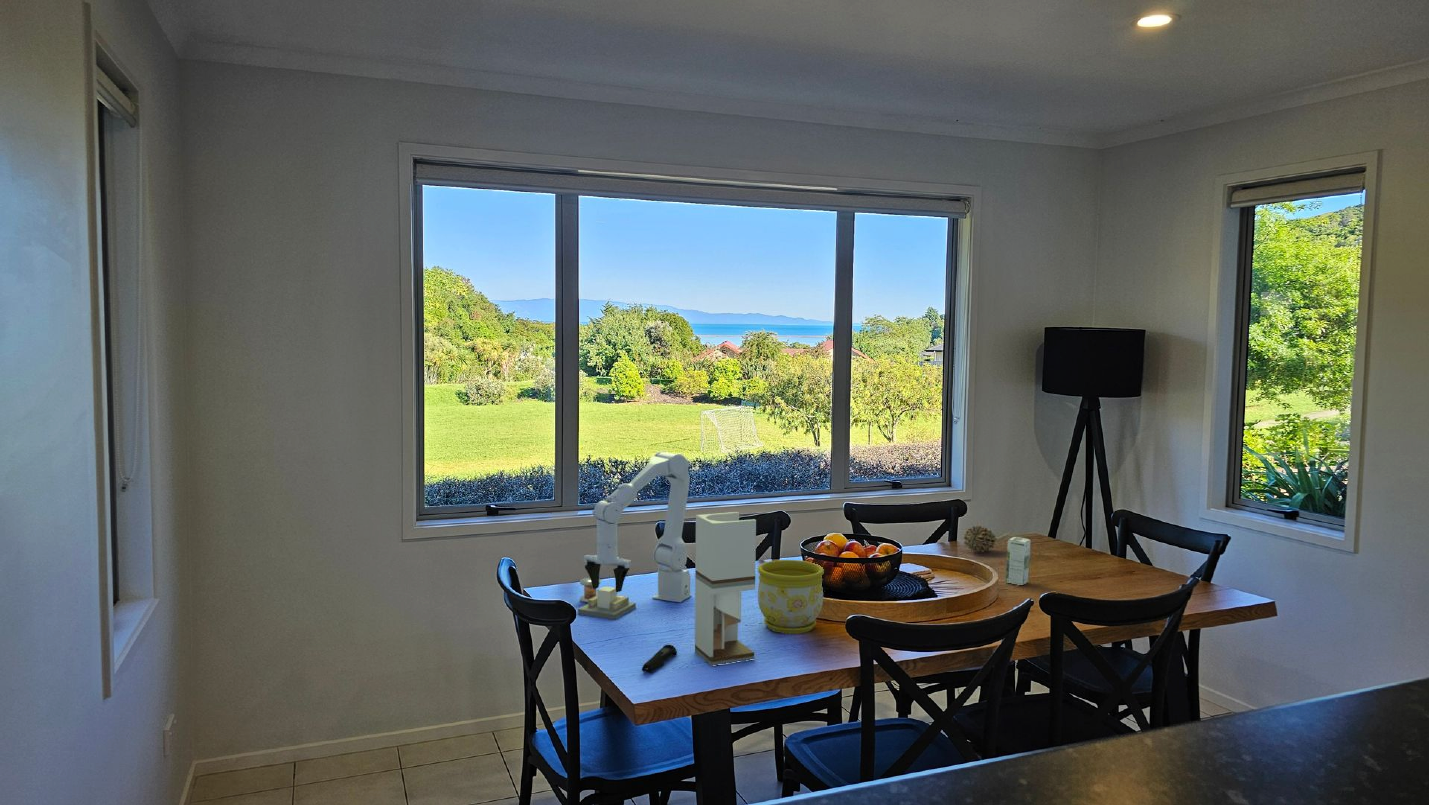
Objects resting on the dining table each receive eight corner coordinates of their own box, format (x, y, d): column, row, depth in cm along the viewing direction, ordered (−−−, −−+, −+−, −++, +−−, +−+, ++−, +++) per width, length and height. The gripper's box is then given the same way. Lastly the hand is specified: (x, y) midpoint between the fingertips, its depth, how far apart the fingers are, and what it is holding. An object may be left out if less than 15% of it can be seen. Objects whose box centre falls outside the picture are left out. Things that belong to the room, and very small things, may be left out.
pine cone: (976, 557, 329) (977, 530, 329) (956, 551, 338) (957, 525, 337) (1017, 549, 341) (1018, 523, 341) (996, 544, 350) (997, 519, 349)
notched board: (635, 608, 266) (635, 596, 266) (614, 619, 255) (614, 607, 255) (600, 602, 271) (600, 591, 271) (578, 614, 260) (577, 602, 260)
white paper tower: (711, 667, 220) (712, 523, 217) (694, 652, 230) (695, 515, 227) (754, 660, 225) (756, 520, 222) (736, 646, 234) (737, 511, 232)
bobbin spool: (604, 598, 275) (604, 579, 274) (593, 604, 269) (593, 584, 269) (587, 596, 277) (587, 576, 277) (576, 601, 272) (576, 581, 271)
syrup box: (1011, 579, 300) (1012, 536, 299) (1029, 582, 297) (1030, 538, 296) (1005, 583, 295) (1006, 539, 294) (1023, 586, 292) (1025, 542, 291)
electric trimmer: (637, 675, 216) (637, 662, 215) (664, 653, 230) (664, 641, 230) (652, 678, 214) (652, 665, 214) (678, 655, 229) (678, 643, 228)
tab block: (616, 605, 264) (616, 588, 263) (609, 608, 260) (609, 591, 260) (604, 603, 265) (604, 586, 265) (597, 607, 262) (597, 589, 261)
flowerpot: (786, 612, 264) (787, 556, 262) (836, 627, 251) (837, 568, 249) (743, 626, 251) (744, 567, 250) (793, 642, 238) (794, 580, 237)
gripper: (577, 543, 261) (578, 590, 262) (622, 548, 255) (622, 596, 256) (591, 538, 267) (591, 583, 268) (634, 543, 261) (634, 590, 262)
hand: (607, 589), depth 263 cm, fingers open, 7 cm apart
